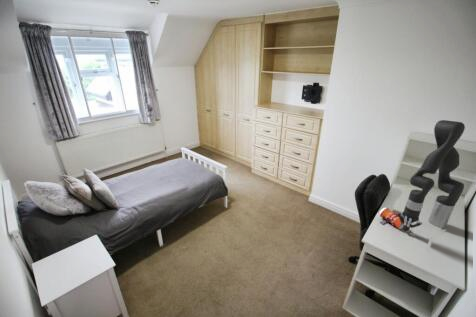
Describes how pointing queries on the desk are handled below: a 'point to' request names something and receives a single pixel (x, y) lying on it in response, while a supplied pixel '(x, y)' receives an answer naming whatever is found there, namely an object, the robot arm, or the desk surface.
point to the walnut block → (396, 212)
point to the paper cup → (391, 218)
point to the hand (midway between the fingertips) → (405, 230)
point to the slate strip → (383, 222)
